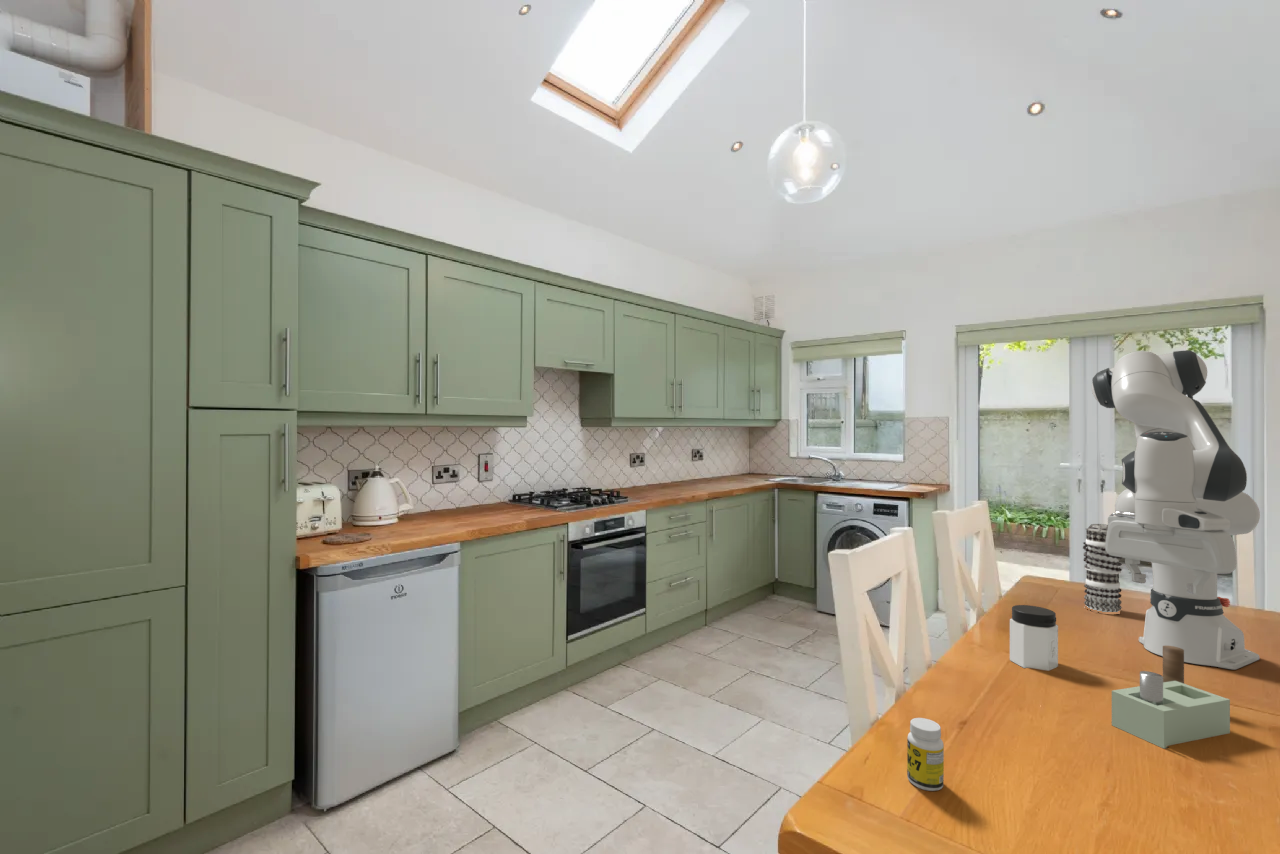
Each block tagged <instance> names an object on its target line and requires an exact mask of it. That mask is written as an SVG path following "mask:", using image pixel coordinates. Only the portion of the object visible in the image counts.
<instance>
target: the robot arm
mask: <svg viewBox="0 0 1280 854" xmlns="http://www.w3.org/2000/svg"><path fill="white" fill-rule="evenodd" d="M1207 378H1208V368H1207V364H1206V363H1205V362H1204V360H1203V359H1202V358H1201V356H1199V355H1198V354H1197V352H1195V351H1193V350H1174V351H1173V352H1172V353H1163V354H1155V353H1154V352H1150V351H1146V350H1137V351H1132V352H1129V353H1126V354H1124V355H1122V356H1121V357H1119V359H1118V360H1116V361H1115V364H1114V366H1113V367H1111V368H1110V367H1108V368H1104V369H1102V370H1100V371H1098V372H1096V373H1095V375H1094V376H1093V377H1092V381H1091V382H1092V383H1091V392H1092V394H1093V397H1094V398H1095V400H1096V401H1097V402H1098V403H1099V405H1100V406H1102V407H1104V408H1106V409H1116V411H1117V413H1118V414H1119V415H1120V416H1121V417H1122V418H1124V419H1125V420H1126V421H1129V422H1131V423H1134V434H1135V439H1136V446H1135V447H1136V448H1135V450H1133V451H1131V452H1129V453H1128V454H1127V455H1126V456H1124V457H1123V458H1122V459H1121V464H1122V480H1121V485H1122V486H1123V487H1124V488H1126V489H1124V490H1122V491H1121V492H1120V493H1119V495H1118V496H1117V497H1116V500H1115V503H1114V511H1115V512H1113V513H1111V514H1110V515H1109V516H1108V517H1107V525H1108V530H1107V535H1106V544H1105V549H1106V551H1107V553H1108V554H1109V555H1111V556H1117V557H1123V558H1122V559H1124V563H1125V565H1126V567H1127V568H1128V570H1129V572H1130V574H1131V581H1132V583H1137V584H1146V583H1147V574H1146V573H1142V571H1141V570H1140V568H1139V565H1140V564H1141V561H1142V562H1147V563H1151V569H1152V588H1151V589H1150V594H1149V598H1150V599H1149V600H1150V604H1151V606H1150V608H1148V609H1146V610H1145V611H1146V612H1145V619H1144V629H1143V636H1138V642H1139V643H1140V644H1142V645H1143V648H1145V650H1147V651H1149V652H1151V653H1153V654H1155V655H1158V656H1161V657H1163V646H1174V647H1178V648H1181V649H1183V650H1184V663H1188V664H1194V665H1200V666H1208V667H1210V666H1211V667H1216V668H1217V667H1218V668H1221V669H1226V670H1238V669H1240V668H1243V667H1245V666H1247V665H1250V664H1252V663H1254V662H1257V661H1259V660H1260V655H1259V654H1258V653H1256V652H1254V651H1251V650H1249V649H1246V648H1245V646H1246V645H1245V635H1244V631H1242V629H1240V628H1239V627H1238V626H1237V625H1236V624H1234V623H1233V622H1232V621H1231V620H1230V619H1228V617H1226V616H1225V615H1224V610H1223V609H1224V608H1223V607H1225V608H1229V607H1230V606H1231V600H1230V599H1229V598H1228V597H1222V596H1218V575H1219V574H1222V575H1223V574H1224V575H1226V574H1232V572H1234V571H1235V570H1236V568H1237V551H1236V546H1235V541H1234V538H1233V537H1232V536H1238V535H1246V534H1250V533H1251V532H1253V530H1254V529H1255V528H1257V526H1258V523H1259V522H1260V518H1261V511H1260V508H1259V506H1258V504H1257V502H1256V501H1255V500H1254V499H1253V498H1252V497H1251V496H1250V495H1249V494H1248V493H1246V492H1244V491H1245V489H1246V487H1247V481H1248V480H1247V479H1248V476H1247V470H1246V467H1245V464H1244V462H1243V461H1242V459H1241V457H1240V456H1239V455H1238V454H1237V453H1236V452H1234V450H1233V449H1232V448H1231V446H1229V444H1228V442H1227V441H1226V439H1225V438H1224V435H1222V433H1221V431H1220V430H1219V428H1218V426H1217V424H1216V423H1215V422H1214V420H1213V419H1212V417H1211V416H1210V414H1209V412H1208V411H1207V409H1206V408H1205V407H1204V406H1203V404H1202V403H1200V401H1199V400H1197V399H1194V396H1195V395H1197V394H1198V393H1199V392H1201V391H1202V390H1203V388H1204V386H1205V385H1206V384H1207V381H1206V380H1207Z"/></svg>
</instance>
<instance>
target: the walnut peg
mask: <svg viewBox="0 0 1280 854" xmlns="http://www.w3.org/2000/svg"><path fill="white" fill-rule="evenodd" d="M1162 676H1163V682H1170V681H1178V682H1181V683H1183V684H1185V662H1184V650H1183V649H1181V648H1178V647H1174V646H1163V656H1162Z"/></svg>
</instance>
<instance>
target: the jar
mask: <svg viewBox="0 0 1280 854" xmlns="http://www.w3.org/2000/svg"><path fill="white" fill-rule="evenodd" d="M1056 623H1057V615H1056V612H1055V611H1053V610H1051V609H1048V608H1044V607H1042V606H1035V605H1029V604H1027V605H1026V604H1016V605H1013V606H1012V607H1011V618H1010V619H1009V661H1010V662H1013V663H1014V664H1015V665H1018V666H1020V667H1021V668H1023V669H1036V670H1041V671H1046V672H1047V671H1048V672H1049V671H1051V670H1053V669H1055V668H1057V667H1059V625H1058V624H1056Z"/></svg>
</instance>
